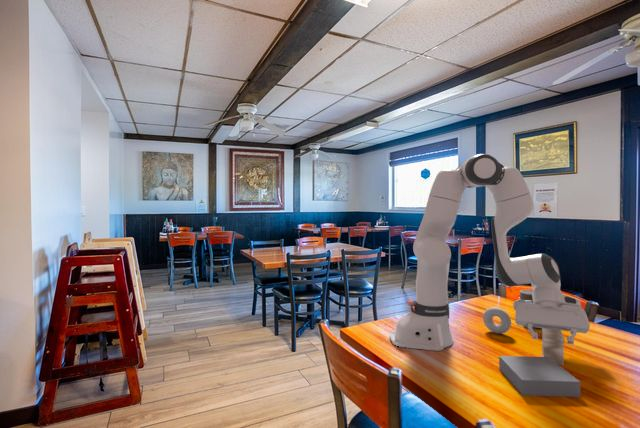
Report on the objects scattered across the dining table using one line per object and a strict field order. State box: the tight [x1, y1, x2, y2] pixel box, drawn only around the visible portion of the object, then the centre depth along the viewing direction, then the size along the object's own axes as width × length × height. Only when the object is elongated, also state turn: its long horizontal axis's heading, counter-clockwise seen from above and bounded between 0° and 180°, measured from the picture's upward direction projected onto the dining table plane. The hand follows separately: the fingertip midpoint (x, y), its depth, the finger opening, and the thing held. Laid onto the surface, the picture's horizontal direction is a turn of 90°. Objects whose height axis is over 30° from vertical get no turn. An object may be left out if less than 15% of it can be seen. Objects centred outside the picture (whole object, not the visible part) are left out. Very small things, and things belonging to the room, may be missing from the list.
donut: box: [482, 306, 512, 335], centre depth 128 cm, size 10×4×10 cm, turn 45°
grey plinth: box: [498, 355, 581, 398], centre depth 92 cm, size 14×14×4 cm
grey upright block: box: [541, 328, 565, 366], centre depth 105 cm, size 5×5×9 cm
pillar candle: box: [519, 289, 542, 331], centre depth 135 cm, size 10×10×15 cm
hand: (552, 340), depth 105 cm, fingers open, 8 cm apart
